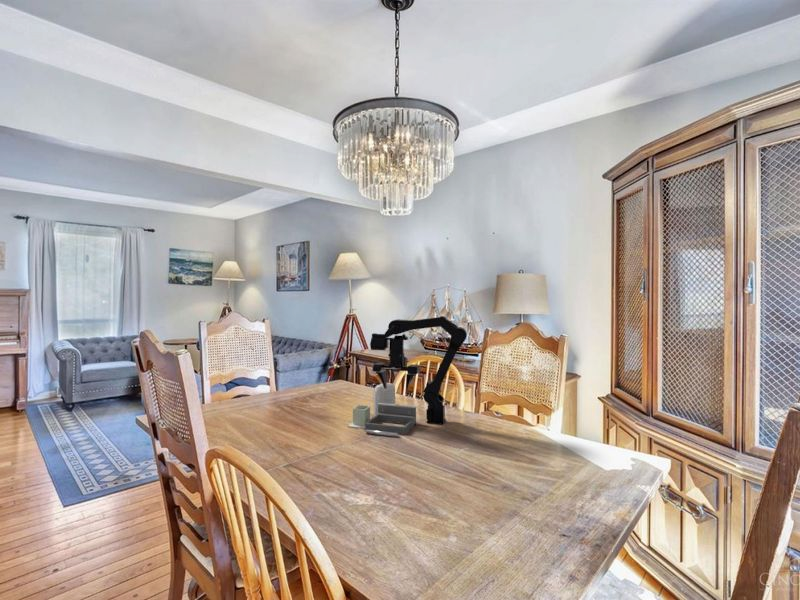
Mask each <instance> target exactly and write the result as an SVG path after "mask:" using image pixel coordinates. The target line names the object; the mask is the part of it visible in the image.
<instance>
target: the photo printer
mask: <svg viewBox="0 0 800 600" xmlns="http://www.w3.org/2000/svg"><path fill="white" fill-rule="evenodd" d="M395 386H396V385H394V383H390V382H387V388H386V389H385V388H384V386H383V384H382V383H380V384H378V385H376V386H375V387H374V389H373V413H374V414H375V415H377V413H378V403H385V404H396V387H395Z"/></svg>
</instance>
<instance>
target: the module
mask: <svg viewBox="0 0 800 600" xmlns="http://www.w3.org/2000/svg"><path fill="white" fill-rule="evenodd" d="M370 419H371V405H369V406H368V405H359V404H358V405H356V406H355V407H353V409H352V423H353V424H355V425H364V426H365V423H366V422H368V421H369V420H370Z"/></svg>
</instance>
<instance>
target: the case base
mask: <svg viewBox="0 0 800 600" xmlns="http://www.w3.org/2000/svg"><path fill="white" fill-rule="evenodd" d="M378 422H384V423H392V424H393V423H394V424H403V425H404V424H405V425H404V426H400V425H391V424H380V423H378ZM415 424H416V423H415V417H411V416H401V415H391V414H380V413H377V414H375V415H374V416H373V417H372V418H370V420H369V421H368V422H366V423H365V429H364V430H365V431H366V429H367V430H376V431H385V432H394V433H398V434H399V435H407V433H408V432H409V431H411V429H412V428H413V427H414V426H415Z"/></svg>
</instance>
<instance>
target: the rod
mask: <svg viewBox="0 0 800 600" xmlns="http://www.w3.org/2000/svg"><path fill="white" fill-rule="evenodd" d="M365 434H368V435H377V436H385V437H386V436H387V437H394V438H399V435H400V434H398V433H394V432H385V431H376V430H367V429H366V430H365Z"/></svg>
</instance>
